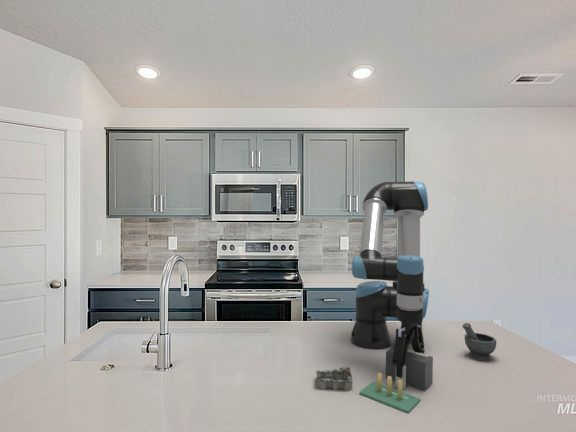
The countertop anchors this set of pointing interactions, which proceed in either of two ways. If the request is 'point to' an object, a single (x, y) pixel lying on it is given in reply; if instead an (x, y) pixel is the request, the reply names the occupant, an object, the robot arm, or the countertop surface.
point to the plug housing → (413, 369)
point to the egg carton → (326, 378)
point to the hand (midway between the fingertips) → (408, 380)
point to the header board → (390, 394)
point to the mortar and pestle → (479, 343)
